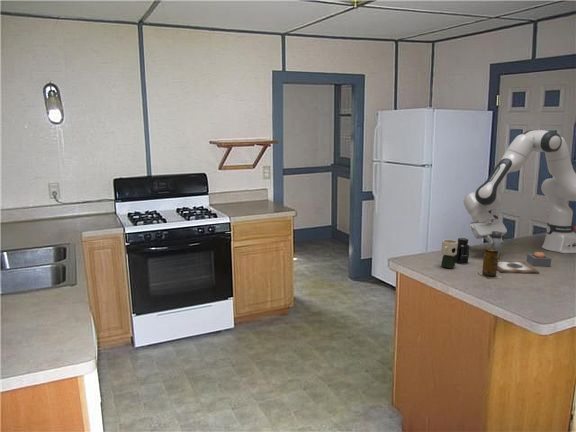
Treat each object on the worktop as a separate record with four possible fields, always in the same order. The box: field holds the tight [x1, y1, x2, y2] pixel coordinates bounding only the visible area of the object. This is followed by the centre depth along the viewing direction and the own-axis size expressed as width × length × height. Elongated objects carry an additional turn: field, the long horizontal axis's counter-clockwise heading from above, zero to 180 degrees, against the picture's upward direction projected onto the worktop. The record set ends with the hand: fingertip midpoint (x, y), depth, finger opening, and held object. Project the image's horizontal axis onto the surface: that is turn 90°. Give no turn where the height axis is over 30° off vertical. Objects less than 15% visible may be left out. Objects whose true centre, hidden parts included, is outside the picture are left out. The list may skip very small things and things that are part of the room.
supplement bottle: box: [454, 237, 471, 265], centre depth 238 cm, size 7×7×12 cm
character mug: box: [440, 238, 458, 269], centre depth 229 cm, size 11×7×13 cm, turn 139°
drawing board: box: [497, 260, 540, 275], centre depth 230 cm, size 18×16×1 cm
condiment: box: [478, 248, 504, 279], centre depth 218 cm, size 7×8×12 cm
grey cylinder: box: [490, 231, 503, 257], centre depth 244 cm, size 5×5×12 cm
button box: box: [525, 253, 552, 268], centre depth 237 cm, size 8×8×4 cm
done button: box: [533, 251, 545, 258], centre depth 237 cm, size 4×4×3 cm
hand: (496, 243), depth 243 cm, fingers closed on grey cylinder, 4 cm apart
